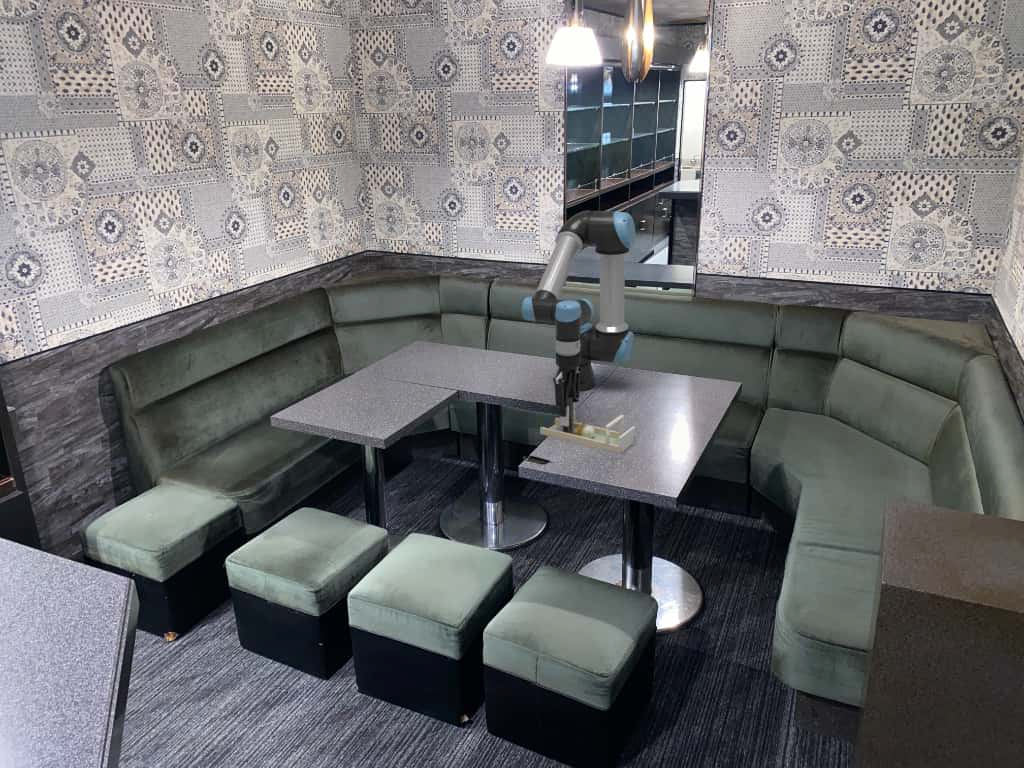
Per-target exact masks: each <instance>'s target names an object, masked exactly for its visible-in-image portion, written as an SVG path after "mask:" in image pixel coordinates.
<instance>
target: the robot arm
mask: <svg viewBox="0 0 1024 768" xmlns="http://www.w3.org/2000/svg"><path fill="white" fill-rule="evenodd" d="M635 241H636V226H635V221H634V218H633V217H632V215H631V214H630V213H628V212H624V211H623V212H622V211H617V210H616V211H613V210H612V211H609V210H608V211H607V210H603V211H602V210H583V211H581V212H578V213H576V214H574V215H573V216H571V217H570V218H569V219H568V220H567V221H565V223H564V224H563V225H562V226H561V227H560V229H559V230H558V233H557V234H556V236H555V246H554V248H553V251H552V253H551V256H550V259H549V261H548V263H547V266H546V267H545V268H546V269H545V270H544V272H543V275H542V278H541V280H540V281H539V285H538V287H537V289H536V290H535V291H536V292H535V294H534V295H533V296H526V297H525V298H524V299H523V301H522V304H521V314H522V318H523V319H524V320H526V321H530V322H536V323H538V322H540V323H553V324H555V365H556V366H557V367H558V369H557V371H556V375H555V376H554V377H553V379H552V380H553V383H554V395H555V396H554V397H555V406H556V407H559V414H560V415H559V418H560V425H563V426H567V427H568V426H569V406H567V405H568V395H570V396H572V397H573V411H572V422H573V423H574V422H576V403H579V398H580V394H581V393H580V392H582V391H587V390H591V389H594V388H595V387H596V383H597V382H596V380H597V379H596V376H595V375H596V374H595V373H594V370H593V367H592V361H597V362H604V363H613V364H624V363H627V361H629V358H630V356H631V354H632V350H633V345H634V338H635V335H634V332H632V331H629V325H628V323H627V322H625V289H626V288H625V285H626V284H625V280H626V279H625V278H626V277H625V274H626V268H625V267H626V265H625V263H626V256H627V255H628V254H629V253H630V249H631V248H633V247H634V245H635ZM584 246H591V247H593V246H594V251H595V254H597V256H598V257H599V322H598V323H597V324H595V328H594V327H593V324H592V323H590V322H589V321H591V319H592V318H593V316H594V315H595V307H594V305H593V303H592V302H591V301H590V300H589V299H587V298H578V299H576V300H571V299H570V300H567V299H559V297H560V295H561V292H562V290H563V288H564V284H565V282H566V281H567V278H568V276H569V274H570V271H571V268H572V266H573V263H574V262H575V259H576V256H577V254H578V253H579V252H581V251H582V250H583V248H584Z"/></svg>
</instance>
